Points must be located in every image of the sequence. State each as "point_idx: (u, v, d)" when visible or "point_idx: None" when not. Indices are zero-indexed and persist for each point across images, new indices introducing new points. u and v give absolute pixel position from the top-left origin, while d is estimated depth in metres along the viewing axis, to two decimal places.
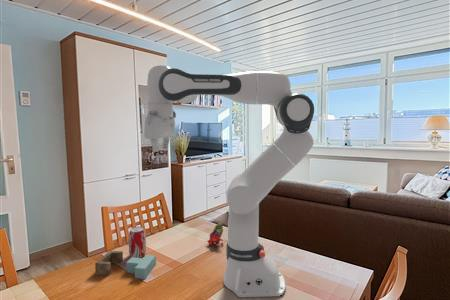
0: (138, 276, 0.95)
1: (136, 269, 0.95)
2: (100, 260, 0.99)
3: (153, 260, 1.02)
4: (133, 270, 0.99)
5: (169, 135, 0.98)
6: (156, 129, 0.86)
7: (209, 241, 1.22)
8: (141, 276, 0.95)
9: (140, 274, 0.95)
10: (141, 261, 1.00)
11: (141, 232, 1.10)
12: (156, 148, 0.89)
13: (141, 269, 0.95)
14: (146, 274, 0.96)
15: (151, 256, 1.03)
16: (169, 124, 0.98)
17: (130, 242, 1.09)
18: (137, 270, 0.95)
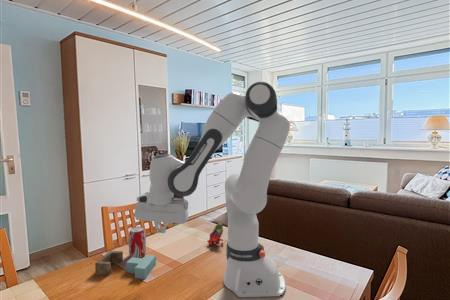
0: (138, 276, 0.95)
1: (136, 269, 0.95)
2: (100, 260, 0.99)
3: (153, 260, 1.02)
4: (133, 270, 0.99)
5: None
6: None
7: (209, 241, 1.22)
8: (141, 276, 0.95)
9: (140, 274, 0.95)
10: (141, 261, 1.00)
11: (141, 232, 1.10)
12: (165, 229, 0.98)
13: (141, 269, 0.95)
14: (146, 274, 0.96)
15: (151, 256, 1.03)
16: None
17: (130, 242, 1.09)
18: (137, 270, 0.95)
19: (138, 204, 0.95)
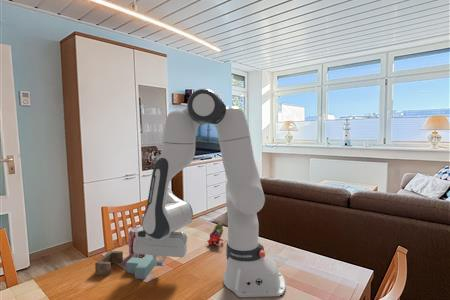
0: (138, 276, 0.95)
1: (136, 269, 0.95)
2: (100, 260, 0.99)
3: (153, 260, 1.02)
4: (133, 270, 0.99)
5: None
6: None
7: (209, 241, 1.22)
8: (141, 276, 0.95)
9: (140, 274, 0.95)
10: (141, 261, 1.00)
11: None
12: None
13: (141, 269, 0.95)
14: (146, 274, 0.96)
15: (151, 256, 1.03)
16: None
17: (130, 242, 1.09)
18: (137, 270, 0.95)
19: (136, 238, 0.95)
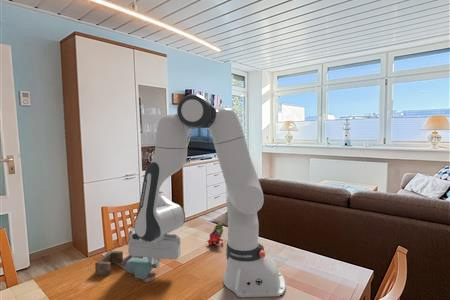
0: (138, 276, 0.95)
1: (136, 269, 0.95)
2: (100, 260, 0.99)
3: None
4: (133, 270, 0.99)
5: None
6: None
7: (209, 241, 1.22)
8: (141, 276, 0.95)
9: (140, 274, 0.95)
10: (141, 261, 1.00)
11: None
12: (158, 264, 1.00)
13: (141, 269, 0.95)
14: (146, 274, 0.96)
15: None
16: None
17: None
18: (137, 270, 0.95)
19: (131, 241, 0.97)
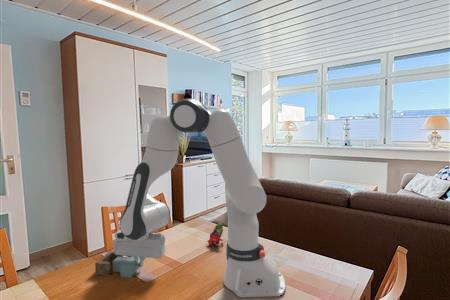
0: (124, 275, 0.96)
1: (121, 268, 0.96)
2: (100, 260, 0.99)
3: None
4: (119, 269, 0.99)
5: None
6: None
7: (209, 241, 1.22)
8: (127, 275, 0.96)
9: (126, 273, 0.96)
10: (127, 260, 1.00)
11: None
12: (143, 263, 1.01)
13: (126, 268, 0.95)
14: (132, 273, 0.97)
15: None
16: None
17: None
18: (122, 269, 0.96)
19: (116, 240, 0.98)
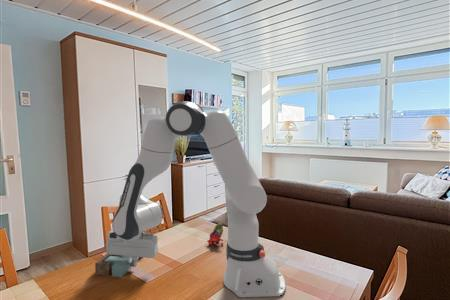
0: (115, 274, 0.96)
1: (113, 267, 0.96)
2: (100, 260, 0.99)
3: (131, 258, 1.03)
4: (111, 268, 1.00)
5: None
6: None
7: (209, 241, 1.22)
8: (118, 274, 0.96)
9: (117, 272, 0.96)
10: (119, 259, 1.01)
11: None
12: (136, 262, 1.01)
13: (118, 267, 0.96)
14: (123, 272, 0.97)
15: None
16: None
17: None
18: (114, 268, 0.96)
19: (109, 240, 0.98)
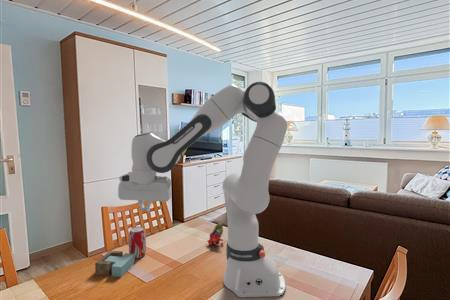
0: (115, 274, 0.96)
1: (113, 267, 0.96)
2: (100, 260, 0.99)
3: (131, 258, 1.03)
4: (111, 268, 1.00)
5: None
6: None
7: (209, 241, 1.22)
8: (118, 274, 0.96)
9: (117, 272, 0.96)
10: (119, 259, 1.01)
11: (141, 232, 1.10)
12: (149, 208, 0.99)
13: (118, 267, 0.96)
14: (123, 272, 0.97)
15: (130, 255, 1.04)
16: None
17: (130, 242, 1.09)
18: (114, 268, 0.96)
19: (121, 183, 0.96)
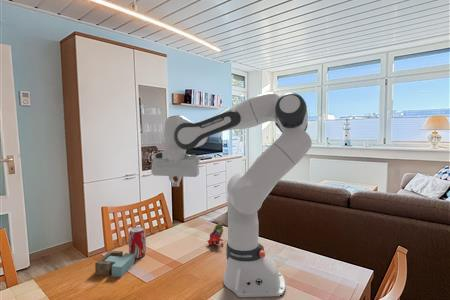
0: (115, 274, 0.96)
1: (113, 267, 0.96)
2: (100, 260, 0.99)
3: (131, 258, 1.03)
4: (111, 268, 1.00)
5: None
6: None
7: (209, 241, 1.22)
8: (118, 274, 0.96)
9: (117, 272, 0.96)
10: (119, 259, 1.01)
11: (141, 232, 1.10)
12: None
13: (118, 267, 0.96)
14: (123, 272, 0.97)
15: (130, 255, 1.04)
16: None
17: (130, 242, 1.09)
18: (114, 268, 0.96)
19: (154, 160, 1.07)
